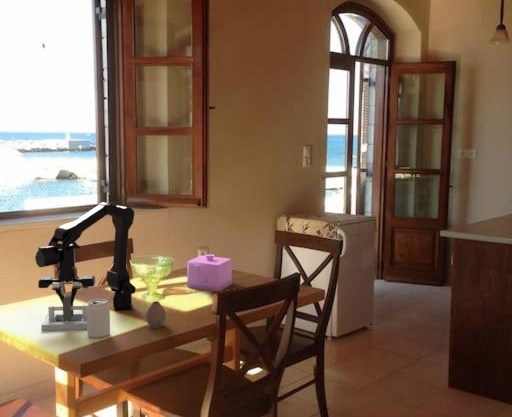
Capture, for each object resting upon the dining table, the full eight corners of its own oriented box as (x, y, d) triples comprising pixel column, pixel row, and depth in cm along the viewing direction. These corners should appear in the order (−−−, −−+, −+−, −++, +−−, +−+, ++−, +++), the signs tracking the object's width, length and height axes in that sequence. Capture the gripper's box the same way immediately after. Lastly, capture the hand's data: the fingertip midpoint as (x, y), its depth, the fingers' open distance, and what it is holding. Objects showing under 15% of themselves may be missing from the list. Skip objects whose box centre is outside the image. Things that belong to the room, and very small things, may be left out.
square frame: (93, 316, 223) (93, 299, 222) (89, 328, 211) (88, 310, 210) (49, 318, 221) (48, 300, 220) (41, 330, 208) (40, 312, 207)
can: (89, 331, 208) (88, 297, 206) (111, 331, 209) (111, 297, 207) (85, 339, 201) (84, 304, 199) (108, 338, 201) (107, 304, 200)
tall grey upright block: (73, 314, 219) (72, 294, 218) (70, 321, 212) (69, 299, 211) (66, 315, 219) (65, 294, 217) (63, 321, 212) (62, 299, 211)
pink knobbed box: (178, 291, 257) (178, 259, 254) (206, 277, 279) (206, 248, 277) (210, 296, 251) (210, 263, 248) (236, 281, 273) (236, 251, 271)
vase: (157, 330, 210) (156, 306, 208) (142, 327, 213) (141, 303, 212) (170, 325, 215) (169, 301, 214) (155, 321, 219) (155, 298, 218)
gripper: (96, 256, 222) (97, 297, 224) (43, 257, 219) (45, 299, 221) (92, 263, 211) (94, 306, 213) (37, 265, 208) (39, 308, 211)
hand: (68, 305), depth 215 cm, fingers closed on tall grey upright block, 2 cm apart
